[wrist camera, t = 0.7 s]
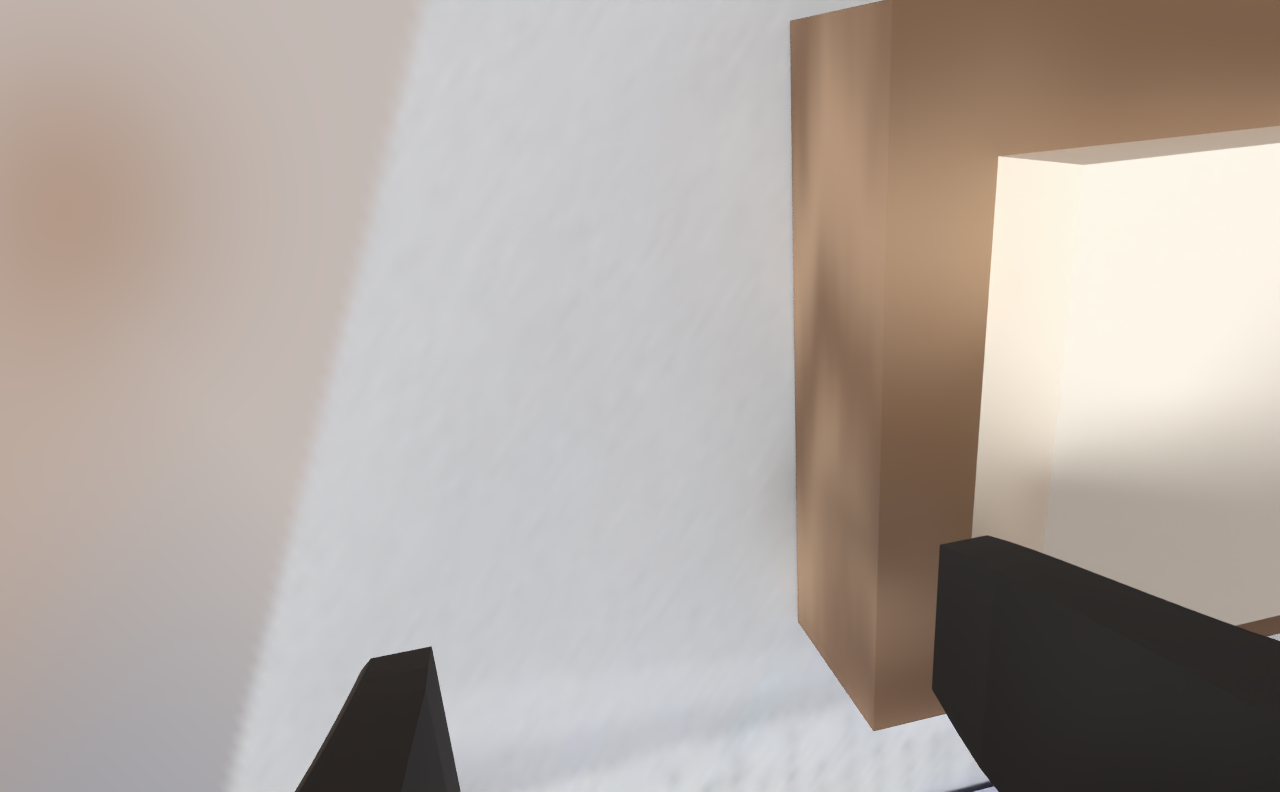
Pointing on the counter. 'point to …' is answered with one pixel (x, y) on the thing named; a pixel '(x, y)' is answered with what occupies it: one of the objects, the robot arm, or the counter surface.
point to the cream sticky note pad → (1139, 366)
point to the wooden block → (948, 266)
